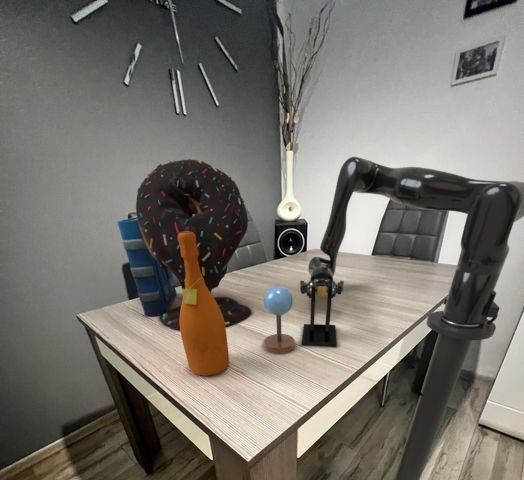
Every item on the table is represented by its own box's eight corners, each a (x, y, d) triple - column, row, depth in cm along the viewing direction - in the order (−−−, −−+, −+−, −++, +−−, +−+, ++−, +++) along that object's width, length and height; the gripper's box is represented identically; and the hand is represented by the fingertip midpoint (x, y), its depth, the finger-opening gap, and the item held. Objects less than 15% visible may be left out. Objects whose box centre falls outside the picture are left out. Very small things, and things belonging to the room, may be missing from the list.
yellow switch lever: (311, 293, 82) (312, 285, 82) (330, 293, 81) (331, 285, 80) (310, 296, 69) (310, 286, 68) (332, 296, 68) (333, 286, 67)
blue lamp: (297, 340, 74) (298, 282, 66) (289, 355, 68) (289, 293, 60) (270, 337, 77) (267, 281, 69) (259, 351, 71) (255, 291, 62)
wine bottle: (183, 364, 67) (151, 232, 52) (218, 351, 71) (199, 226, 56) (199, 383, 60) (168, 237, 45) (237, 367, 64) (221, 230, 49)
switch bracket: (304, 327, 81) (305, 278, 74) (335, 328, 80) (339, 278, 72) (301, 345, 72) (302, 291, 65) (336, 347, 70) (341, 291, 63)
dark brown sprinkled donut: (265, 320, 87) (256, 146, 65) (159, 339, 79) (107, 149, 57) (241, 293, 112) (229, 160, 90) (159, 305, 104) (123, 163, 82)
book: (168, 315, 95) (144, 219, 80) (142, 317, 94) (113, 221, 79) (180, 294, 116) (162, 214, 101) (158, 295, 115) (138, 216, 100)
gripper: (300, 268, 92) (296, 282, 78) (344, 267, 90) (348, 282, 75) (300, 289, 96) (296, 306, 82) (342, 290, 93) (345, 307, 79)
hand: (321, 294), depth 79 cm, fingers open, 5 cm apart
